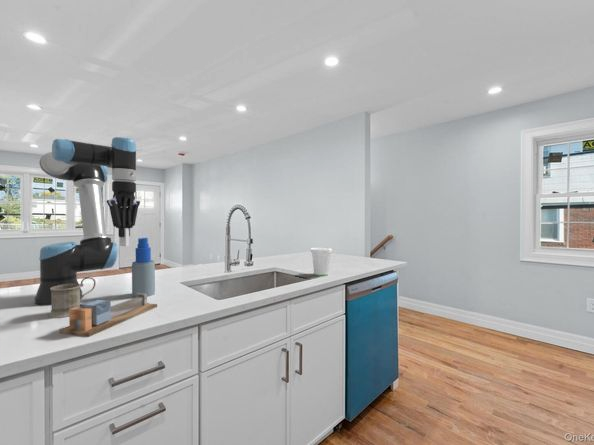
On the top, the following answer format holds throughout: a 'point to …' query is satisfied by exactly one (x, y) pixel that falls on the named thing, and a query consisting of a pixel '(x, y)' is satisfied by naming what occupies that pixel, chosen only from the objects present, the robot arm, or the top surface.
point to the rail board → (120, 312)
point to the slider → (98, 310)
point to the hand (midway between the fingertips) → (124, 245)
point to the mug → (66, 298)
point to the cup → (321, 260)
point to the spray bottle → (143, 270)
